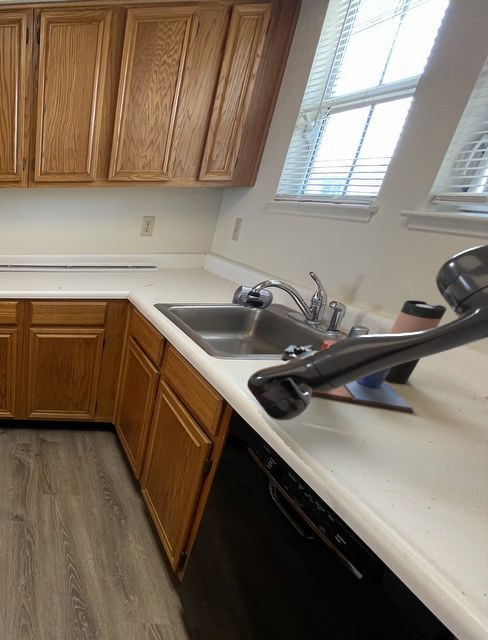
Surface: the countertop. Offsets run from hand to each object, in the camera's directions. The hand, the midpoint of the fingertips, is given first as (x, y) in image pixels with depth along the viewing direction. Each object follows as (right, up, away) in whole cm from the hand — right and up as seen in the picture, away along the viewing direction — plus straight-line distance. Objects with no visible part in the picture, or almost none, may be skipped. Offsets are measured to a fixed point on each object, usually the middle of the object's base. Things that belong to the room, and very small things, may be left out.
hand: (330, 354), depth 99 cm
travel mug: (+25, -6, +12) cm, 28 cm away
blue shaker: (+14, -7, +5) cm, 16 cm away
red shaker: (0, -7, +4) cm, 8 cm away
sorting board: (+7, -9, +4) cm, 12 cm away
